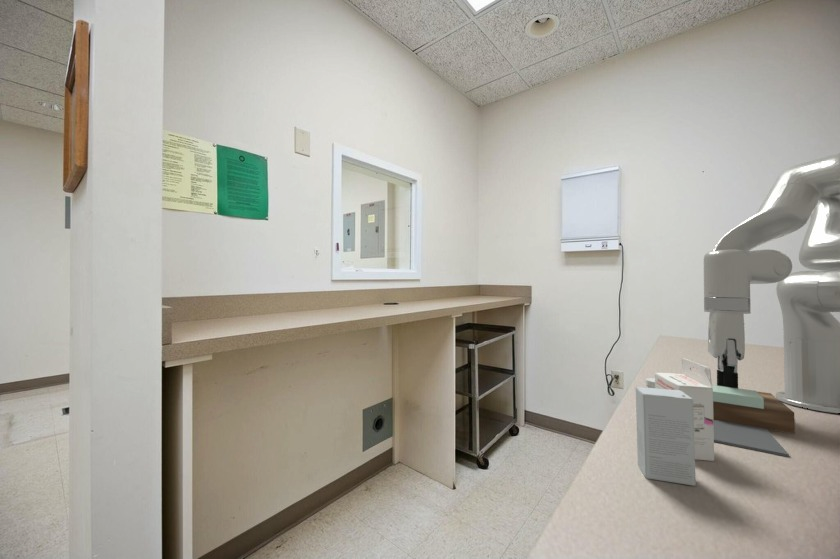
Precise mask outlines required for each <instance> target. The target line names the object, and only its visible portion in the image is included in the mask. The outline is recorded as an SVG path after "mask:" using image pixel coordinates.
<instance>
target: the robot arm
mask: <svg viewBox="0 0 840 559" xmlns="http://www.w3.org/2000/svg"><path fill="white" fill-rule="evenodd" d="M809 219H810V220H809ZM808 221H809V224H808V227H807V228H806V229H807V230H806V232H805V235H804V237H803V240H802V243H801V246H800V249H799V251H798V260H799V263H800V264H801V266H803V267H804V268H807V269H810V270H803V271H796V272H792V271H793V263H792V262H793V261H792V260H791V258H790V257H789V256H788V255H787V254H786V253H784V252H782V251H780V250H775V249H757V250H753V249H754V248H757V247H758V246H760V245H763V244H766V243H768V242H771V241H774V240H777V239H781V238H782V237H785V236H787V235H790V234H792V233H794V232H797V231H798V230H800V229H801V228H803V227H804V226H805V225H806V224H807V222H808ZM776 283H777V284H776ZM755 284H756V285H762V284H763V285H767V284H776V288H775V290H776V296H777V299H778V302H779V305H780V310H781V314H782V315H781V316H782V326H783V328H782V330H783V365H784V367H783V368H784V371H783V372H784V375H783V376H784V391H777V392H776V393H775V397H776V398H777V399H778V400H779V401H781V402H782V403H784V404H788V405H791V406H795V407H800V408H802V407H803V408H804V409H807V408H808V409H807V410H813V411H817V412H818V411H819V412H824V413H830V414H831V413H832V414H838V413H840V321H839V320H838V319H837V318H836V317H835V316H834V315H833V314H832V313H840V153H835V154H832V155H829V156H824V157H821V158H818V159H814V160H810V161H807V162H803V163H800V164H795V165H794V166H790V167H789V168H787V169H785V170H783V171H782V172H781V173H780V174H779V175H778V177H777V179H776V180H775V182H774V184H773V185H772V187H770V190H769V192H768V194H767V195H766V197H765V199H764V200H763V202H762V204H761V205H760V208H759V209H758V211H756V213H755V214H753V215H752V216H750V217H749V218H746V219H745V220H744V221H742V222H741V223H740V224H738V225H736V226H735V227H734V228H732V229H731V230H729V231H728V232H727V233H725V234H724V235H723V236H722V237H721V238H720V239H719V240H718V241H717V243H716V244H715V246H714V247H713V249H712V250H711V251H708V252H706V253H705V255H704V256H703V311H704V313H706V312H707V313H709V316H708V329H707V332H708V333H707V334H708V338H707V352H708V354H709V355H710V356H711V357H713V358H714V359H716V360H717V361H716V362H717V369H716V386H723V387H731V388H739V373H738V361H742V360H744V359H745V355H746V354H745V352H746V351H745V350H746V346H745V345H746V343H745V342H746V340H745V339H746V338H745V336H746V335H745V317H744V316H745V315H748V314H751V313H752V312H751V310H752V309H751V285H755ZM744 314H745V315H744Z"/></svg>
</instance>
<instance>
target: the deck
mask: <svg viewBox="0 0 840 559" xmlns="http://www.w3.org/2000/svg"><path fill="white" fill-rule="evenodd" d="M757 392H758V393H759V394H760V395H761V396H762V397H763V398H764V409H761V408H754V407H748V406H741V405H735V404H728V403H722V402H715V401H713V420H719V421H725V422H731V423H736V424H742V425H748V426H754V427H760V428H765V429H767V430H768V431H774V432H779V433H780V432H781V433H786V434H792V435H795V434H796V431H795V430H796V428H795V426H796V425H795V424H796V423H795V412H794V411H793V410H792V409H791V408H789V407H788V406H787V405H786V404H785V403H784V402H782V401H780V400H778V399H777V398H776V395H774V394H772V392H764V391H757Z"/></svg>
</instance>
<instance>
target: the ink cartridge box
mask: <svg viewBox="0 0 840 559" xmlns="http://www.w3.org/2000/svg"><path fill="white" fill-rule="evenodd" d="M681 365H682V366H681V367H682V373H675V372H674V373H673V372H654V378H655V388H657V389H669V390H680V391H682V392H684V393H685V394H687V395H688V396H689V397H691V398H692V399H693V414H694V443H695V461H696V460H698V461H699V460H700V461H709V462H714V461H715V442H714V423H713V388H712V385H713V382H712V372H711V369H710V367H709V366H706V365H703V364H702V363H698V362H696V361H693V360H690V359H687V358H685V357H681ZM692 368H693V369H694V368H695V369H696V370H697V371H699V373H698V372H696V371H693V370H692Z"/></svg>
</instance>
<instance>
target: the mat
mask: <svg viewBox="0 0 840 559" xmlns="http://www.w3.org/2000/svg"><path fill="white" fill-rule="evenodd" d="M713 423H714V443H718V444H723V445H727V446H733V447H738V448H742V449H746V450H747V449H748V450H753V451H758V452H763V453H766V454H767V453H768V454H772V455H777V456H778V455H779V456H782V457H788V458H790V454H789V452H788V451H787V450H786V449H785V448H784V447H783V446H782V444H780V442H778V440H777V439H776V438H775V436H774V435H773V434H772V433H771V432H770V430H768V429H765V428H760V427H754V426H748V425H742V424H736V423H731V422H725V421H719V420H713Z"/></svg>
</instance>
